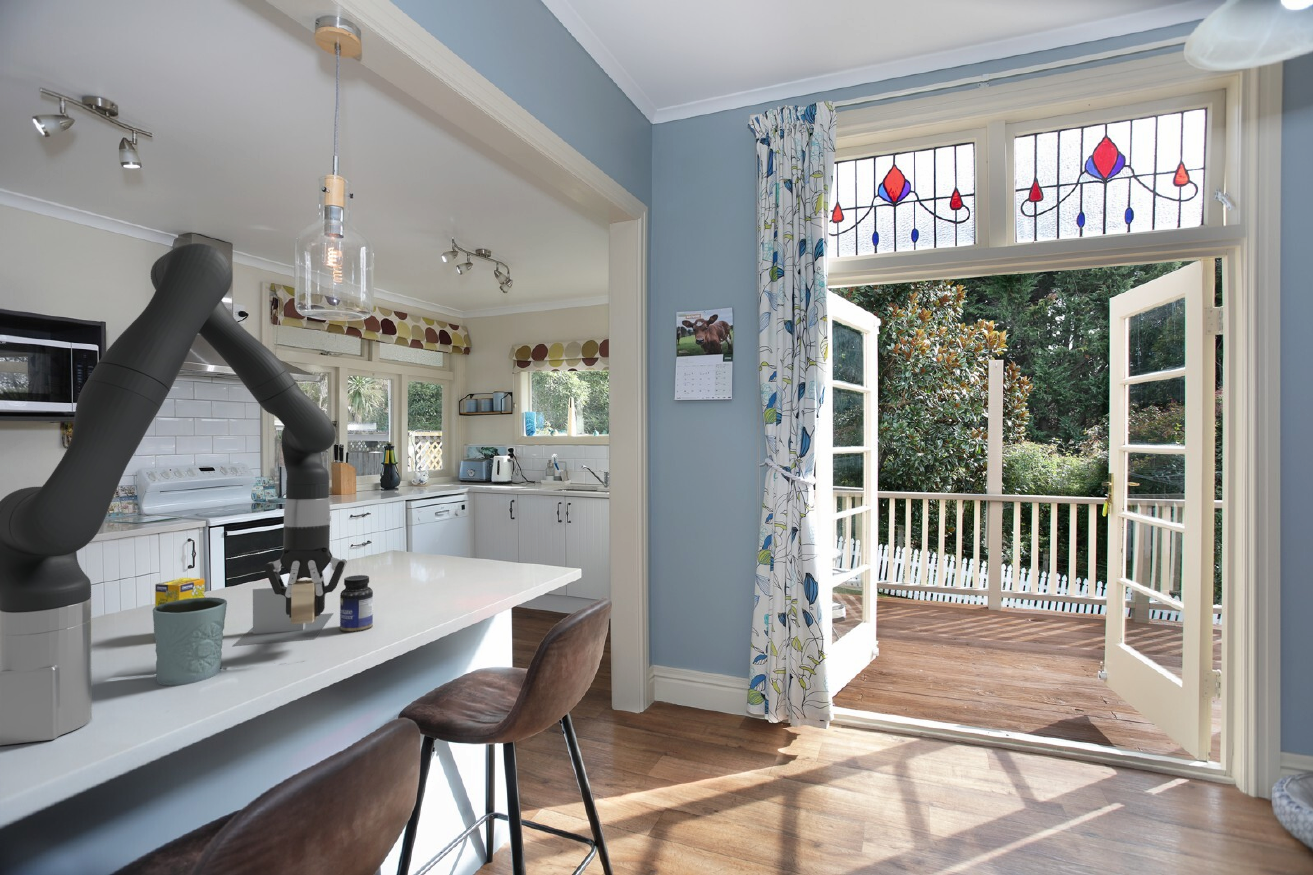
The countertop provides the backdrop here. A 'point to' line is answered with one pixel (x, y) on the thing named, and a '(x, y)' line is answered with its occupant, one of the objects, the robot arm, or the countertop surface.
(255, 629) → the tile
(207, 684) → the countertop surface
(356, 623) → the pill bottle
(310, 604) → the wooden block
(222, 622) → the green embossed planter
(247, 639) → the mat
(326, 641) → the countertop surface
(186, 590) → the supplement box
